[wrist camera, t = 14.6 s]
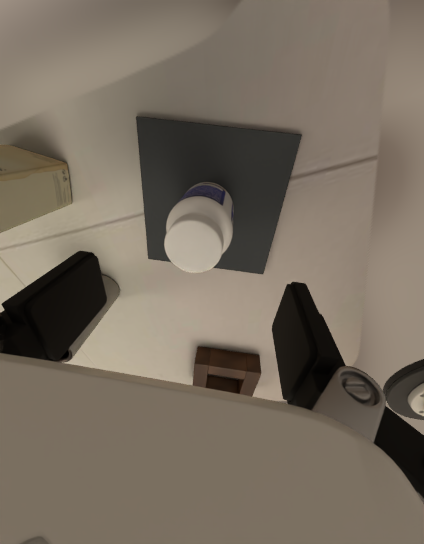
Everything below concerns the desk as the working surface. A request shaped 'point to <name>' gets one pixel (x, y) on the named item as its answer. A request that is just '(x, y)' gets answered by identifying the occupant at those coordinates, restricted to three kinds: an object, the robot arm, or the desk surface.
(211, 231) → the pill bottle
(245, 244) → the mat
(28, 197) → the cosmetic box
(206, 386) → the holder
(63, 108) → the desk surface
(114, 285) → the grey hollow tube
